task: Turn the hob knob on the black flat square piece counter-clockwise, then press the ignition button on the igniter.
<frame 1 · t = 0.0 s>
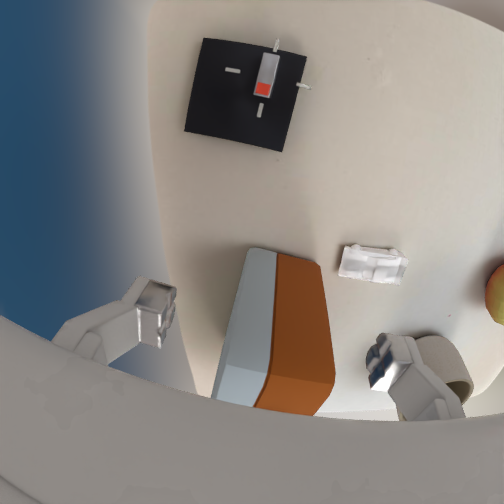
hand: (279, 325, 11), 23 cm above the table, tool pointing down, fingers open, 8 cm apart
toy car: (370, 260, 35), on the table
apple: (500, 278, 34), on the table
planter: (419, 352, 43), on the table
alarm clock: (266, 306, 40), on the table
black flat square piece: (245, 92, 27), on the table
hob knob: (267, 76, 23), point 4 cm above the table, hinge at 0.0°
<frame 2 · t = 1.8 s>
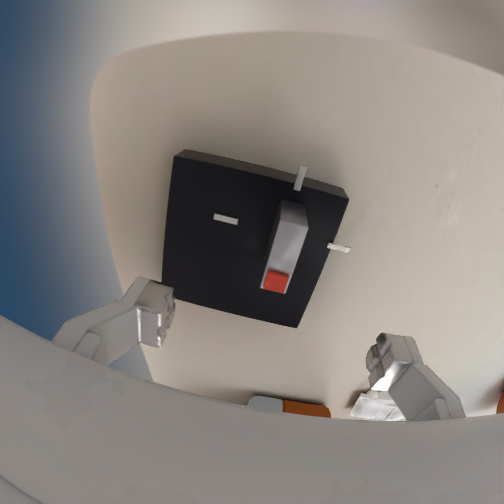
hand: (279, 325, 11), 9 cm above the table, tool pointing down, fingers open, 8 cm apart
toy car: (385, 397, 28), on the table
alarm clock: (269, 429, 33), on the table
black flat square piece: (246, 238, 20), on the table
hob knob: (283, 246, 16), point 4 cm above the table, hinge at 0.0°
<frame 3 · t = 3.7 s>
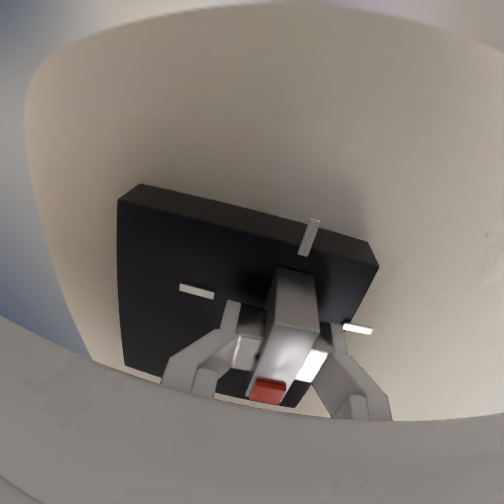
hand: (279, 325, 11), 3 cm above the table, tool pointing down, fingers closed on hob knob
black flat square piece: (230, 303, 15), on the table
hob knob: (279, 340, 10), point 4 cm above the table, hinge at 0.5°, touching gripper
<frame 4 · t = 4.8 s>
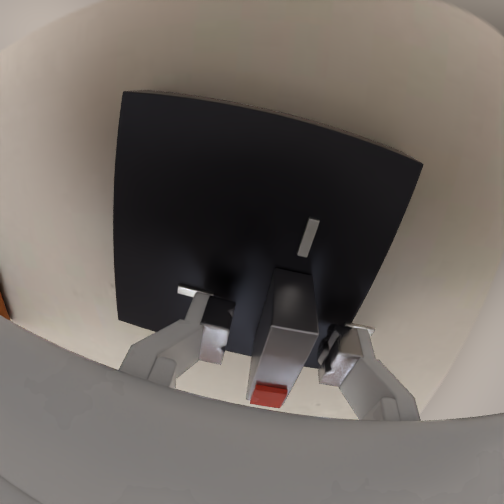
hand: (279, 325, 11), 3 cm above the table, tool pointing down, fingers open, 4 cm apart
black flat square piece: (247, 232, 12), on the table
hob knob: (279, 342, 10), point 4 cm above the table, hinge at 91.6°
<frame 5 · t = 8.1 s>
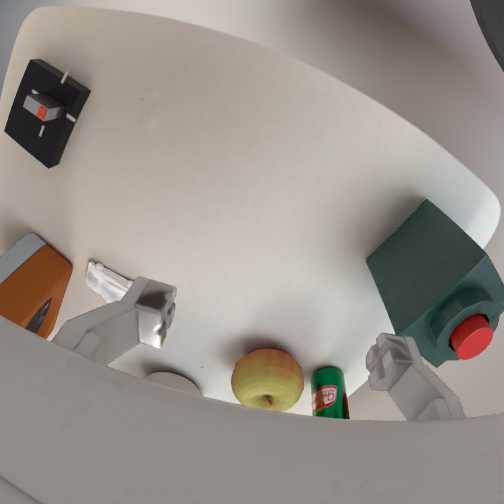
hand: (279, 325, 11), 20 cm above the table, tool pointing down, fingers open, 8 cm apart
toy car: (115, 282, 37), on the table
apple: (269, 360, 42), on the table
soda can: (326, 374, 43), on the table
ignition button: (471, 337, 19), point 14 cm above the table, slide at 0.1 cm
planter: (174, 385, 47), on the table
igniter: (415, 250, 31), on the table
alarm clock: (44, 283, 39), on the table
black flat square piece: (47, 110, 26), on the table
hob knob: (43, 106, 23), point 4 cm above the table, hinge at 91.6°
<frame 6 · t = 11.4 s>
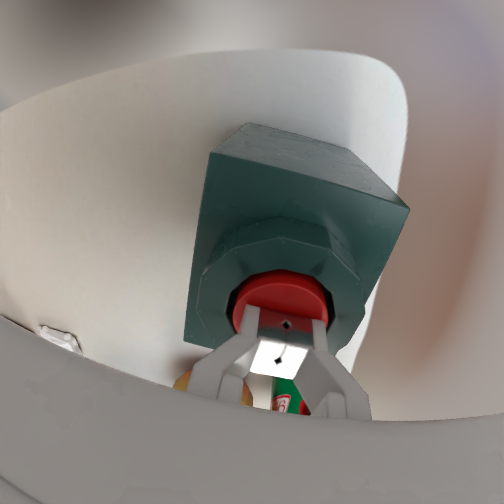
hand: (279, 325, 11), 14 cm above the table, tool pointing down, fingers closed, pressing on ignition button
toy car: (62, 338, 37), on the table
apple: (218, 377, 36), on the table
soda can: (292, 378, 35), on the table
ignition button: (280, 307, 12), point 14 cm above the table, slide at -0.8 cm, touching gripper
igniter: (283, 195, 24), on the table
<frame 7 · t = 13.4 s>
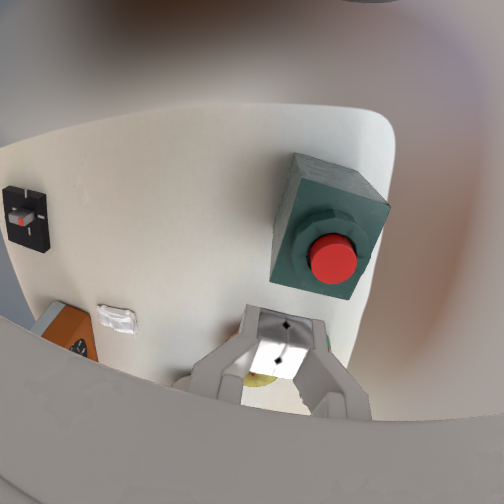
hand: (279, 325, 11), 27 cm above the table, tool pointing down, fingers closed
toy car: (119, 315, 49), on the table
apple: (255, 340, 48), on the table
ignition button: (332, 259, 23), point 14 cm above the table, slide at 0.1 cm
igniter: (315, 200, 36), on the table
alarm clock: (79, 335, 54), on the table
black flat square piece: (28, 216, 41), on the table
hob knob: (21, 216, 37), point 4 cm above the table, hinge at 91.6°
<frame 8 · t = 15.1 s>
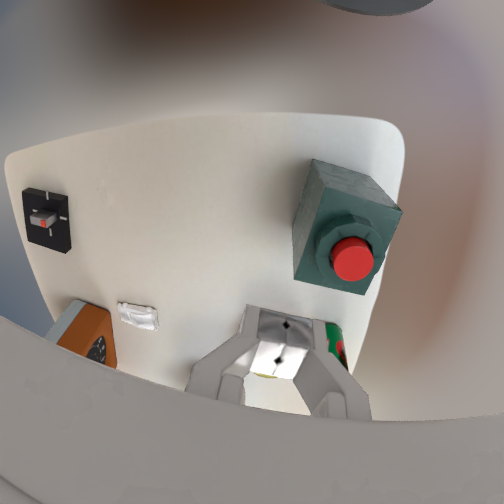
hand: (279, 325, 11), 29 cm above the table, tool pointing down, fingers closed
toy car: (140, 312, 52), on the table
soda can: (327, 331, 50), on the table
ignition button: (352, 259, 26), point 14 cm above the table, slide at 0.1 cm
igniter: (331, 202, 38), on the table
alarm clock: (97, 332, 57), on the table
black flat square piece: (49, 217, 44), on the table
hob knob: (43, 218, 40), point 4 cm above the table, hinge at 91.6°
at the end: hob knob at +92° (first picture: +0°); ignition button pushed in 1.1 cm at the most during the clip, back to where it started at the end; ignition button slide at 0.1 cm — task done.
